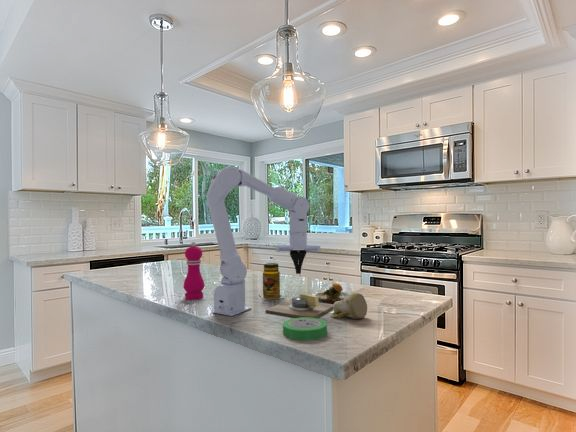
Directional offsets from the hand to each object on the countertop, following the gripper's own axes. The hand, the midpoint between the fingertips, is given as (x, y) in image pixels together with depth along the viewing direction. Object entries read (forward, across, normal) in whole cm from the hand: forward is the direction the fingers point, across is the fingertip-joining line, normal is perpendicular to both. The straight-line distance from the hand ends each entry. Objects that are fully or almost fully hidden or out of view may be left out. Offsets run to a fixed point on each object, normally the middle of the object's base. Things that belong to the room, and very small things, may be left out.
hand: (298, 273), depth 122 cm
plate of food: (+10, +11, +6) cm, 17 cm away
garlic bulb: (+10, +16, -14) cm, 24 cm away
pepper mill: (+10, -38, +4) cm, 39 cm away
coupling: (+8, +3, -9) cm, 13 cm away
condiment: (+10, -11, +8) cm, 17 cm away
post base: (+10, +2, -8) cm, 13 cm away
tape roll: (+10, +4, -29) cm, 31 cm away
